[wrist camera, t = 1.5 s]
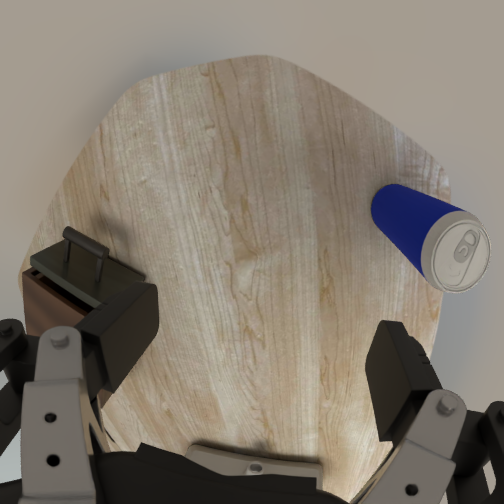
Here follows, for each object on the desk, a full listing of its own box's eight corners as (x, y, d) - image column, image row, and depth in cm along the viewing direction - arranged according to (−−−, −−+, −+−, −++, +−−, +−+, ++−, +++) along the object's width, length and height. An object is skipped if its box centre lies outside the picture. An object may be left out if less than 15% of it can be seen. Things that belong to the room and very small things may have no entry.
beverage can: (400, 240, 29) (466, 309, 15) (361, 218, 29) (410, 278, 15) (422, 198, 27) (506, 239, 13) (383, 174, 27) (454, 197, 13)
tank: (333, 445, 41) (334, 506, 29) (310, 482, 46) (307, 531, 35) (188, 422, 44) (165, 479, 32) (192, 463, 49) (175, 509, 37)
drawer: (74, 206, 32) (31, 222, 25) (152, 246, 32) (116, 272, 25) (64, 317, 39) (34, 342, 32) (127, 356, 39) (101, 390, 32)
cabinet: (69, 246, 36) (22, 272, 27) (148, 291, 36) (108, 331, 27) (64, 327, 41) (30, 358, 32) (130, 368, 41) (101, 408, 32)
